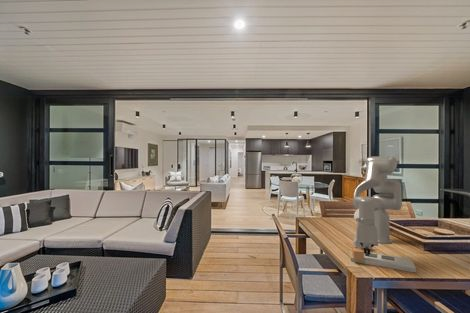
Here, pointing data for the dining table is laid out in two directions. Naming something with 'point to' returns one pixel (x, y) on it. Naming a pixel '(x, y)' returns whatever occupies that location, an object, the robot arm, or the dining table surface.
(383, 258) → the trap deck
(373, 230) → the robot arm
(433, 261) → the dining table surface
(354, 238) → the die
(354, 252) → the block
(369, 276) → the dining table surface
